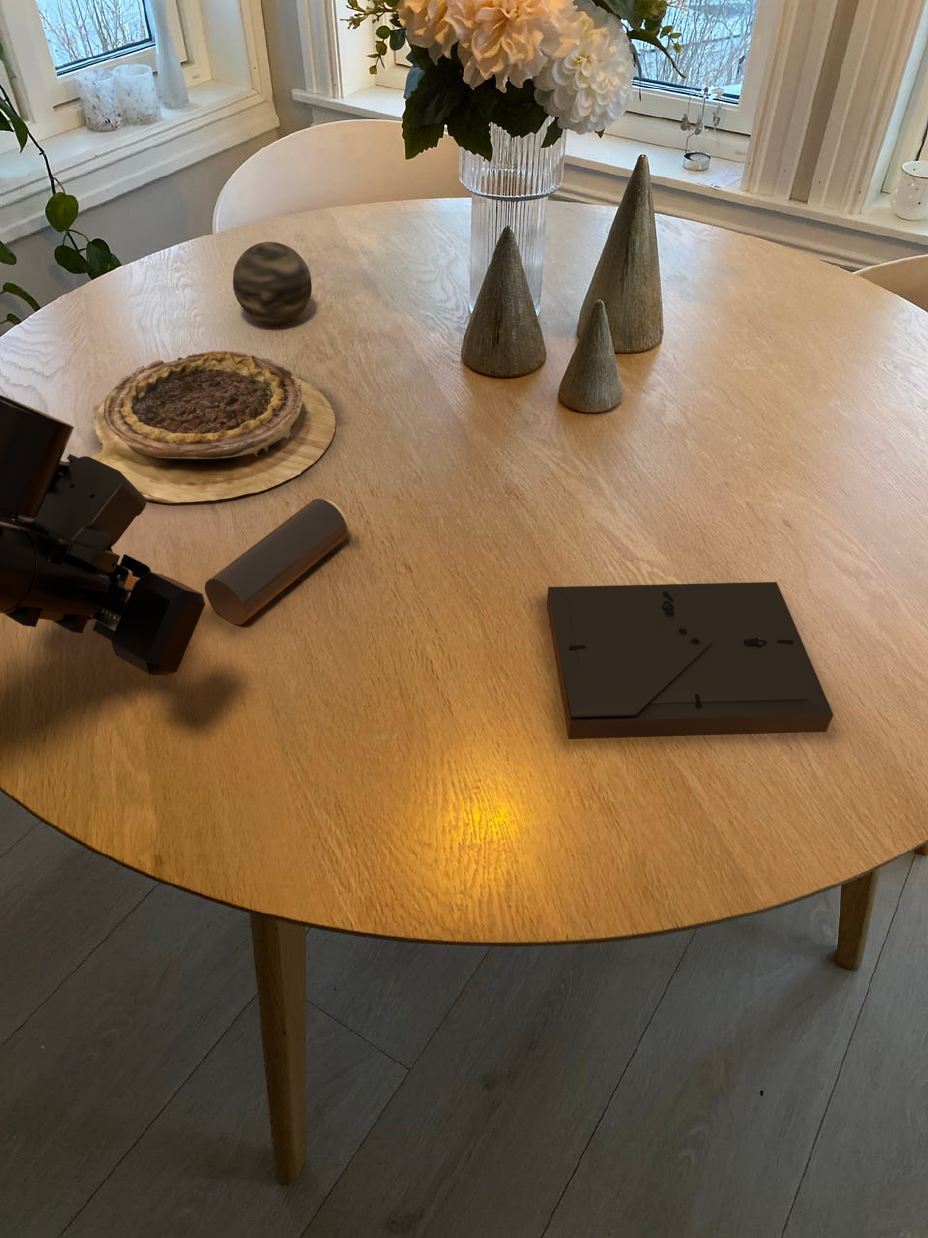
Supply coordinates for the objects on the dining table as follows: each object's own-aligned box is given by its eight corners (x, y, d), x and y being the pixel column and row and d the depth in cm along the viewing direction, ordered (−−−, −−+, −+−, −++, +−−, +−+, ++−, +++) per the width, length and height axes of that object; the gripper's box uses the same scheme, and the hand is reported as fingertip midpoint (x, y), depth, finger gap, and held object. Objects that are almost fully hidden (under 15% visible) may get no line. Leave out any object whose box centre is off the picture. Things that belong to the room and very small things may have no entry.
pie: (244, 346, 121) (238, 309, 117) (386, 433, 107) (385, 394, 104) (35, 430, 107) (21, 390, 103) (168, 543, 93) (157, 501, 89)
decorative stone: (310, 338, 123) (302, 262, 116) (232, 337, 123) (219, 261, 116) (319, 303, 130) (312, 229, 123) (245, 302, 130) (234, 228, 123)
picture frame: (568, 738, 76) (826, 731, 77) (571, 715, 74) (836, 708, 75) (546, 603, 87) (771, 598, 88) (548, 580, 85) (778, 575, 86)
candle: (220, 573, 81) (330, 488, 90) (196, 586, 84) (304, 503, 93) (254, 618, 82) (359, 530, 91) (229, 629, 86) (333, 544, 94)
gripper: (154, 501, 57) (295, 549, 72) (-42, 407, 64) (121, 467, 79) (83, 671, 58) (237, 685, 72) (-104, 559, 65) (70, 591, 79)
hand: (164, 600), depth 76 cm, fingers closed
